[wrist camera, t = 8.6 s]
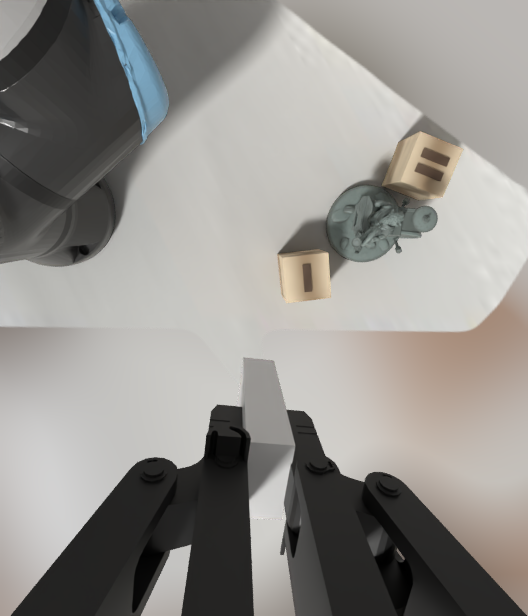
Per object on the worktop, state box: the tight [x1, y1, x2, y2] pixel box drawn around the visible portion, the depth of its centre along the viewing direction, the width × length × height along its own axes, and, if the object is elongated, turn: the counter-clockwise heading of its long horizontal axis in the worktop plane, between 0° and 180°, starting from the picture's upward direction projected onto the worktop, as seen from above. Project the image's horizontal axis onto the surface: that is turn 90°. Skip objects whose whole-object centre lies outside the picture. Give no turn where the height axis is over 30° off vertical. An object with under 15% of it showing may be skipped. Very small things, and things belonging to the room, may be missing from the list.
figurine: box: [326, 185, 438, 262], centre depth 44 cm, size 11×11×12 cm
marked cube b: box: [382, 131, 463, 200], centre depth 45 cm, size 6×6×6 cm
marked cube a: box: [278, 249, 331, 303], centre depth 47 cm, size 6×6×6 cm
